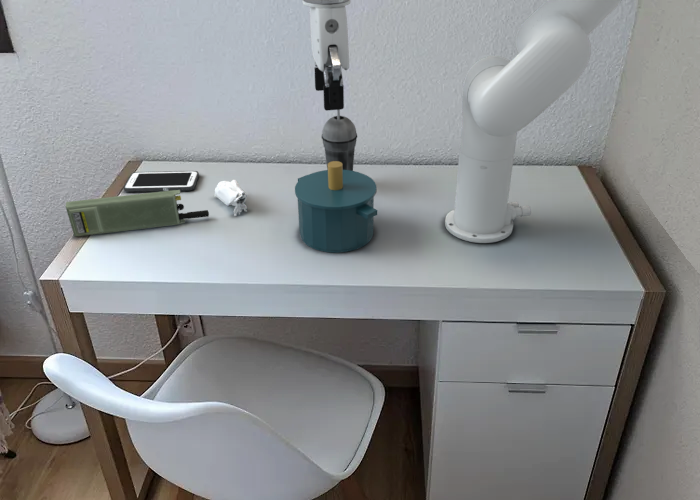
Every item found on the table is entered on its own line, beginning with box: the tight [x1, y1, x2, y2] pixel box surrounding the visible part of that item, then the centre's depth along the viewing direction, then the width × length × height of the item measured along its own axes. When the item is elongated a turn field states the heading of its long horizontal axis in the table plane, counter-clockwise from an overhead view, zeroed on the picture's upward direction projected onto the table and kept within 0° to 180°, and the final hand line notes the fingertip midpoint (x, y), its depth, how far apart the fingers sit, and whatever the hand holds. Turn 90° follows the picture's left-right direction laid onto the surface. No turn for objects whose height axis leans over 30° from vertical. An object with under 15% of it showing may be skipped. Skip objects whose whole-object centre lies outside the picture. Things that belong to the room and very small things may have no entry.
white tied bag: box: [213, 179, 248, 217], centre depth 131 cm, size 5×7×10 cm
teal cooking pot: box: [297, 174, 378, 254], centre depth 120 cm, size 14×19×9 cm
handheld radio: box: [65, 190, 210, 237], centre depth 124 cm, size 7×3×25 cm
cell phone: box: [123, 170, 200, 193], centre depth 140 cm, size 8×15×1 cm, turn 92°
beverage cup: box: [321, 110, 358, 171], centre depth 133 cm, size 7×7×20 cm
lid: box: [294, 161, 377, 210], centre depth 116 cm, size 15×15×6 cm
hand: (329, 99), depth 111 cm, fingers open, 9 cm apart
